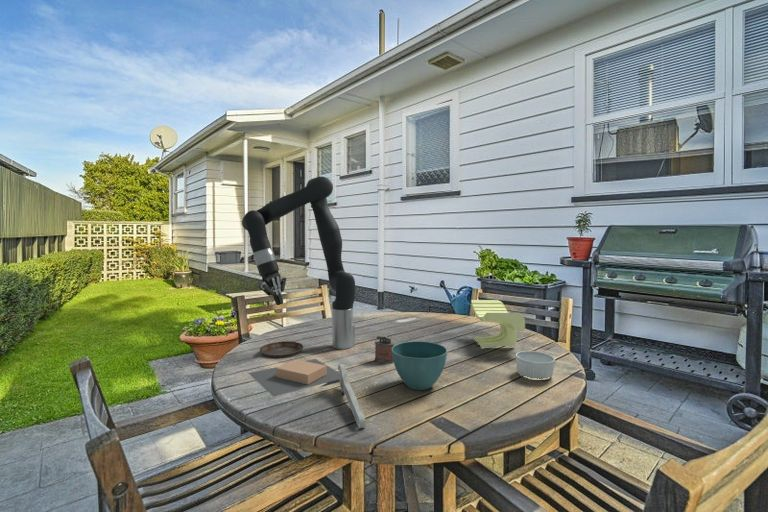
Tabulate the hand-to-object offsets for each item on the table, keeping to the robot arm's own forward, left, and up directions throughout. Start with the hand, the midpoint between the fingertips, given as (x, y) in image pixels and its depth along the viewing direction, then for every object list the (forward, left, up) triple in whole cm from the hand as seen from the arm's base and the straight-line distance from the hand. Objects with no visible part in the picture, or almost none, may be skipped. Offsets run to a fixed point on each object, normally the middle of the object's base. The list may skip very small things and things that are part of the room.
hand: (280, 304), depth 148 cm
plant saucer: (-4, -10, -24) cm, 26 cm away
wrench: (-2, +47, -23) cm, 53 cm away
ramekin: (-67, +67, -23) cm, 98 cm away
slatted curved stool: (-87, +35, -23) cm, 97 cm away
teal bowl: (-29, +49, -23) cm, 61 cm away
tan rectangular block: (+4, +14, -20) cm, 25 cm away
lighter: (-34, +23, -23) cm, 46 cm away
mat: (+1, +19, -23) cm, 30 cm away
